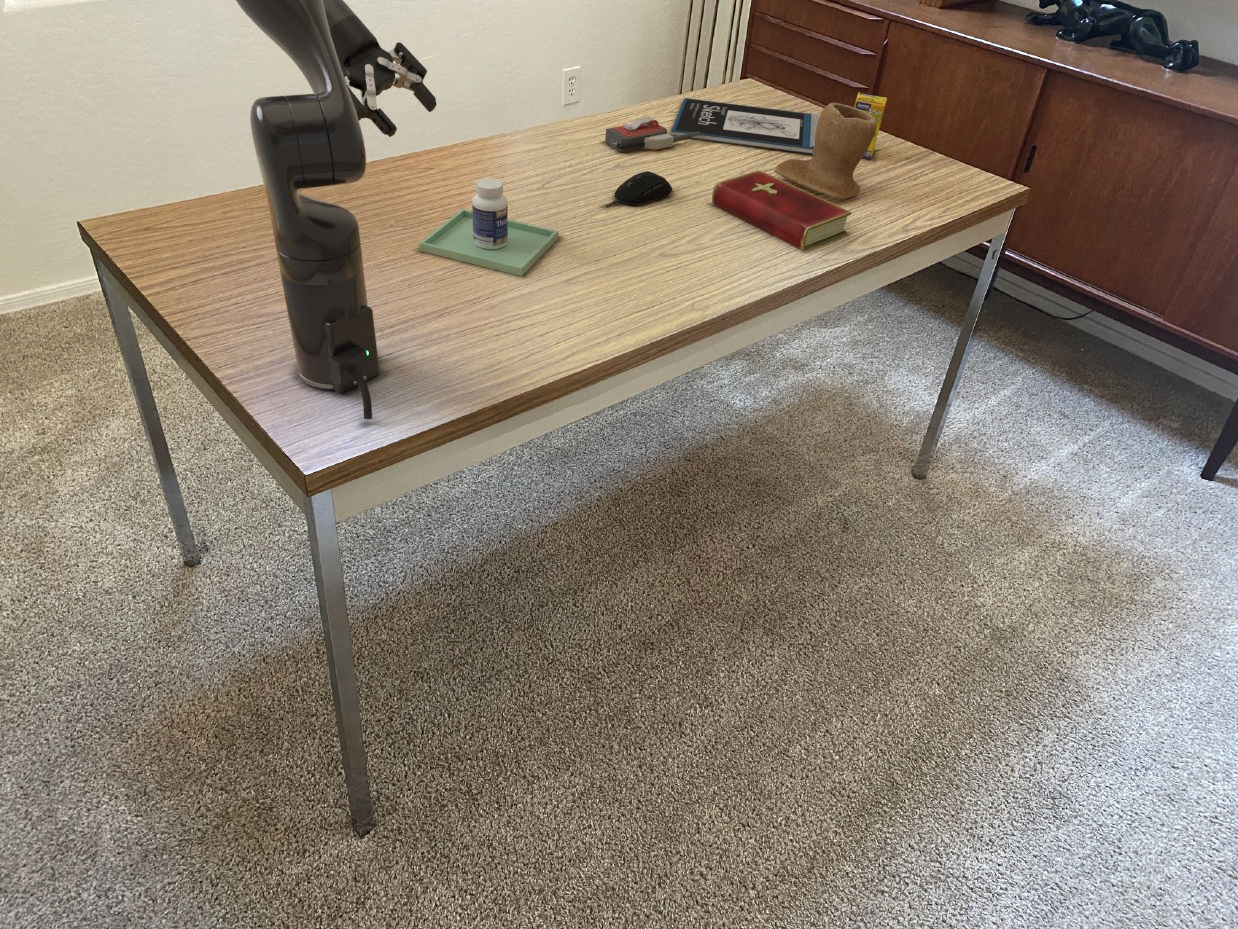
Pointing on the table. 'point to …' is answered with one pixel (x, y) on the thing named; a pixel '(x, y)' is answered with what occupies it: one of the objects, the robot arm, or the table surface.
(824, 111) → the brown boot
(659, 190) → the gaming mouse
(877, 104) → the supplement box
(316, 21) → the robot arm
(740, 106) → the sketchbook
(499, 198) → the pill bottle
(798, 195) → the hardcover book
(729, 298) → the table surface
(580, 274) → the table surface
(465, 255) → the tray
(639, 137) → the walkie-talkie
